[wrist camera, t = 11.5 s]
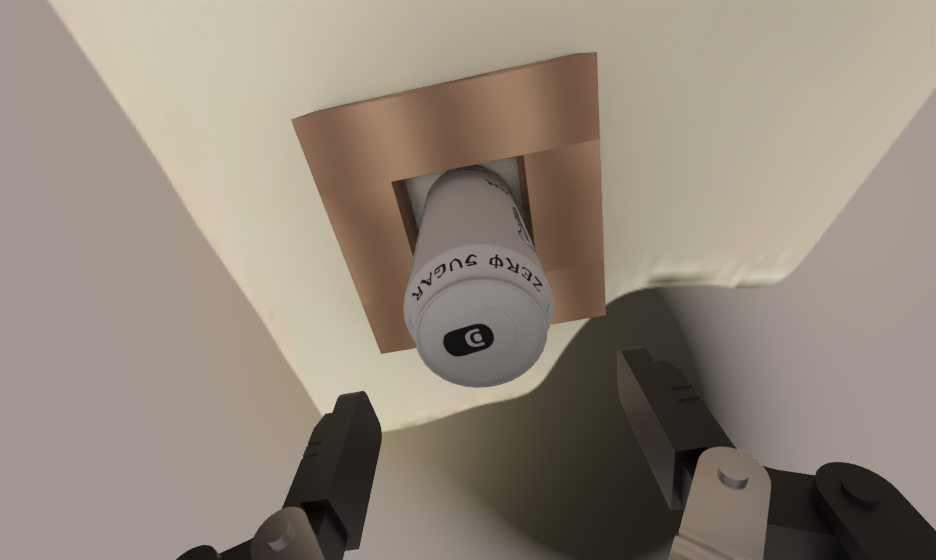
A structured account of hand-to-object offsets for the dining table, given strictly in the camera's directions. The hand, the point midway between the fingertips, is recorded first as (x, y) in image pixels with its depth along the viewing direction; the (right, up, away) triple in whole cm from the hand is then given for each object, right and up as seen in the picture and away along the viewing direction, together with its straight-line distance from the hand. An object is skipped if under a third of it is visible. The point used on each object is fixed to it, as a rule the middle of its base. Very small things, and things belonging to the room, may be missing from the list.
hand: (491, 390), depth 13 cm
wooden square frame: (-1, +8, +15) cm, 17 cm away
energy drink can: (-1, +9, +15) cm, 18 cm away
